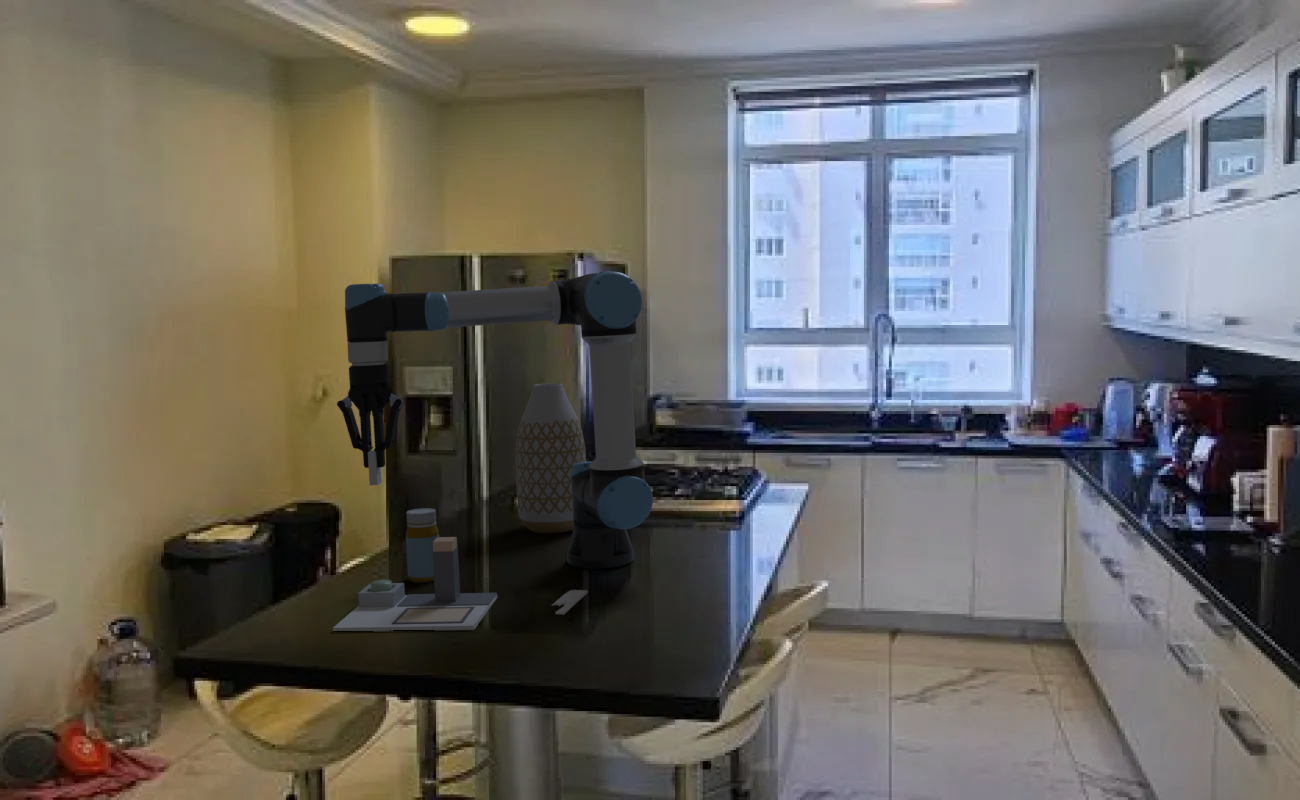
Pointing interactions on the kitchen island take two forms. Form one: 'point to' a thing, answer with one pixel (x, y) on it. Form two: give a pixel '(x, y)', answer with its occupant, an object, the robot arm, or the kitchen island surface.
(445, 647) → the kitchen island surface
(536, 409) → the vase
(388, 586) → the button
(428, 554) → the bottle
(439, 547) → the two-tone square rod
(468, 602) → the board
